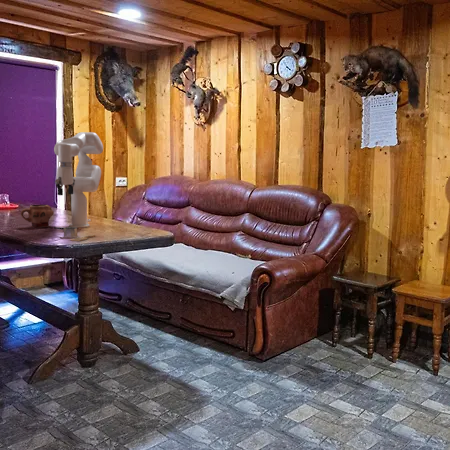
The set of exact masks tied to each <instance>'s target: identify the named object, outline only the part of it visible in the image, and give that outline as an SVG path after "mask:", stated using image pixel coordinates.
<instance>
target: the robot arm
mask: <svg viewBox="0 0 450 450" xmlns="http://www.w3.org/2000/svg"><path fill="white" fill-rule="evenodd" d="M103 151H104V145H103V142H102V140H101V138H100V136H99V135H98V134H97V133H96V132H93V131H90V132H89V131H88V132H87V131H81V132H78V133H76V134H75V135H73V136H72V137H69V138H65V139H61V140H58V141H57V142H56V143H55V145H54V146H53V152H54V154H55V155H56V156H57V166H58V167H57V168H56V179H55V180H54V183H55V186H56V189H57V196H63V195H64V188H63V187H64V186H68V187H67V194H68V195H70V198H71V199H70V200H71V201H70V202H71V203H70V207H71V208H70V209H71V224H70V223H69V224H68V227H76V228H77V229H79V228H80V229H82V228H90V226H91V225H90V224H89V223H91V222H92V220H91V218H88V199H87V196H86V195H85V193H95V192H97V191H98V189H99V186H100V181H101V177H102V169H101V167H100V166H99V165H97V164H93V160H92V159H91V157H89V155H100V154H101V155H102V153H103ZM73 157H77V158H78V163H77V165H76V169H75V176H74V172H73V162H72V160H73Z"/></svg>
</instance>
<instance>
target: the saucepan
mask: <svg viewBox="0 0 450 450" xmlns="http://www.w3.org/2000/svg"><path fill="white" fill-rule="evenodd" d="M53 229H54V230H63V238H66V239H75V238H78V228H76V227H69V226H67V227H60V226H59V227H58V226H54V227H53Z"/></svg>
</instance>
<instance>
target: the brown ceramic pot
mask: <svg viewBox="0 0 450 450" xmlns="http://www.w3.org/2000/svg"><path fill="white" fill-rule="evenodd" d="M24 213H27V215H28V217H25V216H24ZM54 214H55V212H54V211H53V210H52V207H51V206H50V205H49V204H30V205H29V208H24V209H22V210H21V212H20V216H21V218H22V219H24V220H25V221H26V222H28V223H31V227H32V228H35V229H37V228H39V229H40V228H47V227H49V226H50V223H49V222H50V219H51V218H52V217H53V216H54Z"/></svg>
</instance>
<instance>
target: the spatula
mask: <svg viewBox="0 0 450 450" xmlns="http://www.w3.org/2000/svg"><path fill="white" fill-rule="evenodd" d="M94 237H96V234H89V235H86V236H81V237H76V238H69V239H70V240H69V241H72V242H82V241H83V242H84V241H86V240H88V239H90V238H94Z"/></svg>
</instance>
